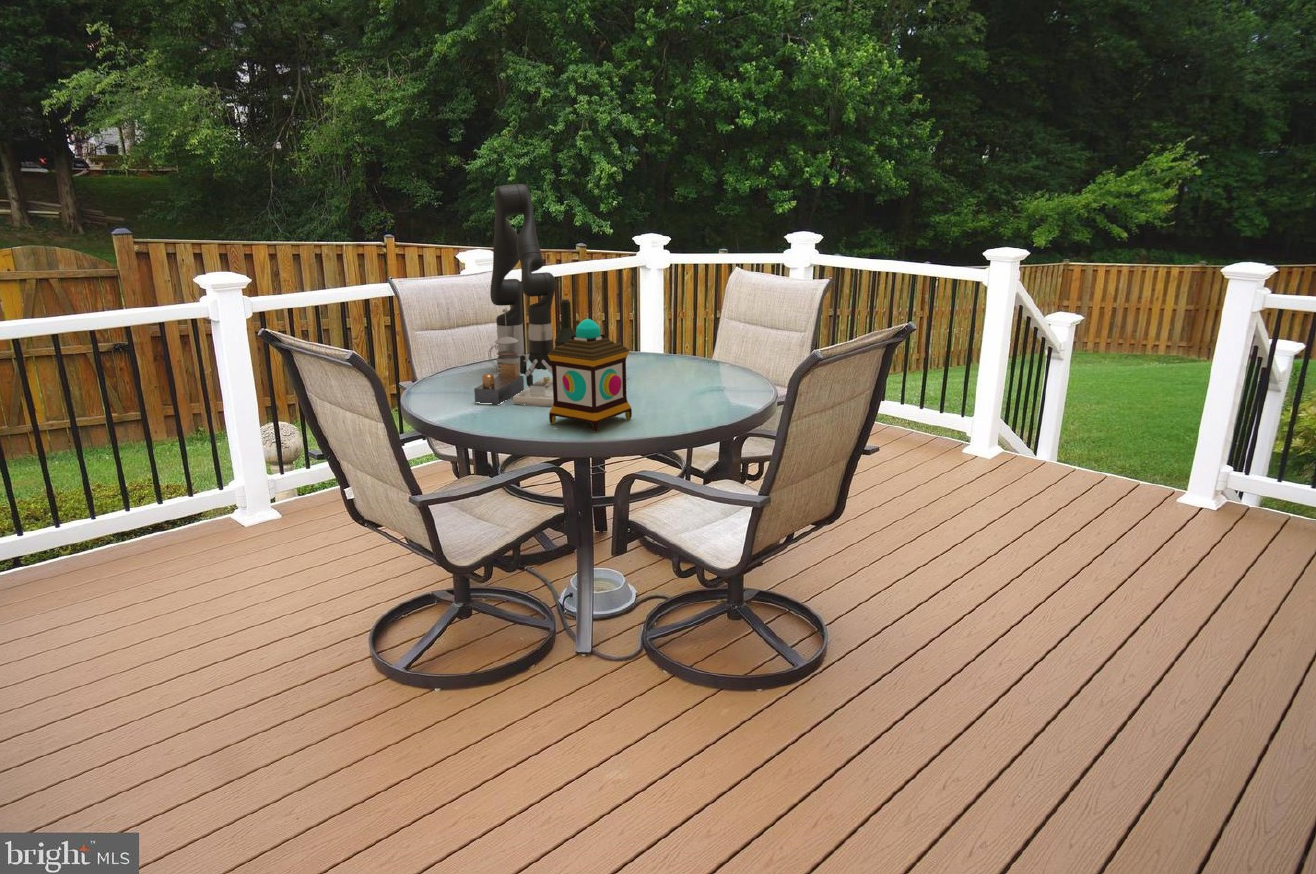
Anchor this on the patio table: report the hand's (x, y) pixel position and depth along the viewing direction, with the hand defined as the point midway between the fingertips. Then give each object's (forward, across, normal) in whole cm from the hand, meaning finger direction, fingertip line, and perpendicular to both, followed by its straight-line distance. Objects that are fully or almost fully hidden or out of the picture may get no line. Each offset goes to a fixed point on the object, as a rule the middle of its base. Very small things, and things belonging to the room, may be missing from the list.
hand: (543, 387), depth 278 cm
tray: (+4, 0, 0) cm, 4 cm away
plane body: (+4, +15, 0) cm, 15 cm away
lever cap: (+3, 0, 0) cm, 3 cm away
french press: (+4, +23, -23) cm, 33 cm away
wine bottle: (+4, -3, -15) cm, 16 cm away
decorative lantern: (+4, -23, +21) cm, 31 cm away
